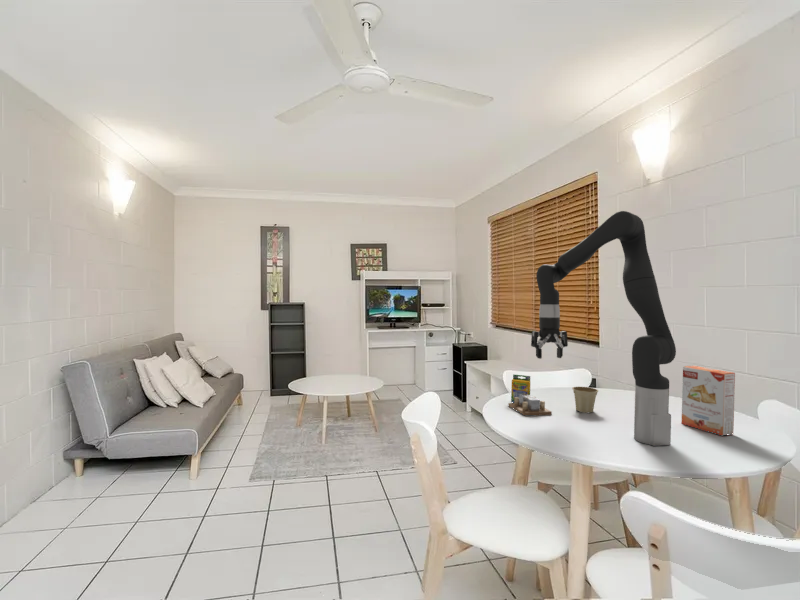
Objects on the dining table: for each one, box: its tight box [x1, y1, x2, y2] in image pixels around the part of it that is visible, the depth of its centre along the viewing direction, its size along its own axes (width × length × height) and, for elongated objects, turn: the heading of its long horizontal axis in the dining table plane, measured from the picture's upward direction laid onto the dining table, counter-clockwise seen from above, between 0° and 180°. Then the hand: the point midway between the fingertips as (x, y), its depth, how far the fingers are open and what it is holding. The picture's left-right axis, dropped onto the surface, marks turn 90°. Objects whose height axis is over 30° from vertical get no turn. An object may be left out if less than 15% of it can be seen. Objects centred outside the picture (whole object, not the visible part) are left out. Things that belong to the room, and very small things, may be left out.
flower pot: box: [572, 386, 599, 414], centre depth 168 cm, size 9×9×9 cm
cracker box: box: [681, 365, 736, 436], centre depth 146 cm, size 14×6×21 cm, turn 21°
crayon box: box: [510, 374, 531, 403], centre depth 178 cm, size 7×3×12 cm, turn 64°
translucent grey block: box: [519, 394, 541, 411], centre depth 168 cm, size 10×4×4 cm, turn 11°
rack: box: [508, 396, 553, 416], centre depth 168 cm, size 14×11×4 cm
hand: (549, 358), depth 165 cm, fingers open, 8 cm apart
